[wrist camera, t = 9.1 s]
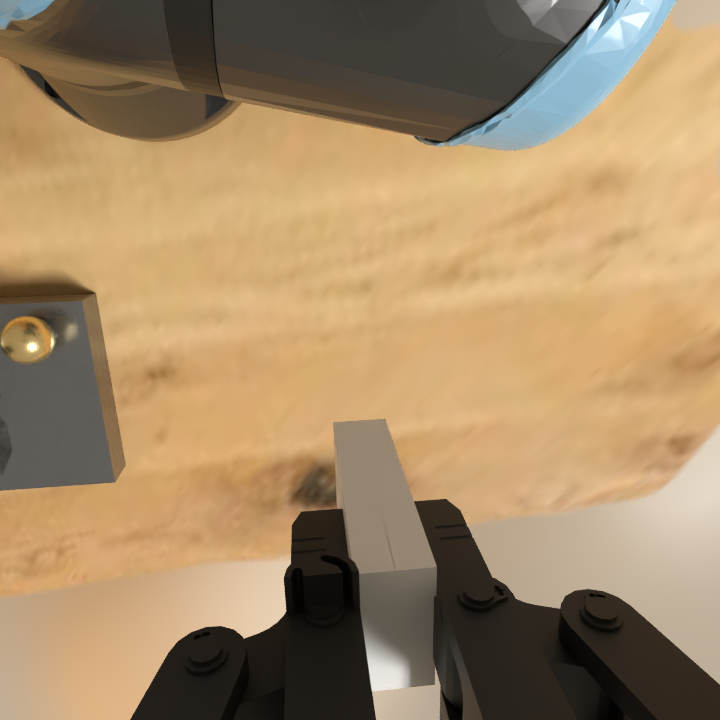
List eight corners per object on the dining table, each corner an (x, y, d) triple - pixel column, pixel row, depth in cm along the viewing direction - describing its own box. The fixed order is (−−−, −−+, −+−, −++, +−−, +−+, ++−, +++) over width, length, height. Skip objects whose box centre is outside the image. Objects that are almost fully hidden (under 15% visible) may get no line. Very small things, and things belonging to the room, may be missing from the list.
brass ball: (9, 311, 35) (-17, 323, 32) (58, 309, 36) (37, 321, 33) (19, 357, 36) (-5, 372, 33) (67, 355, 36) (48, 369, 34)
